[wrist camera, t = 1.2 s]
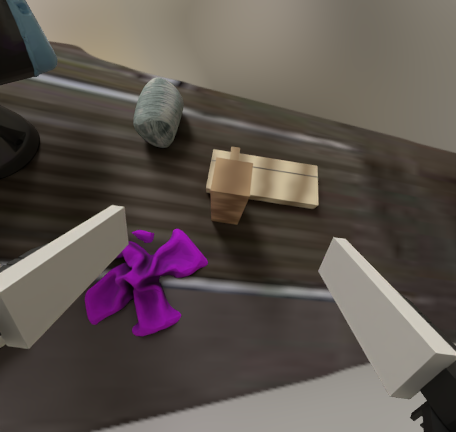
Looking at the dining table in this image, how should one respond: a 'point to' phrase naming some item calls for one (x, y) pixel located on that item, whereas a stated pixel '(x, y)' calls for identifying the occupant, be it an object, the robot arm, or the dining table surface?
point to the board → (277, 180)
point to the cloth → (144, 282)
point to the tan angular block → (230, 188)
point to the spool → (158, 112)
